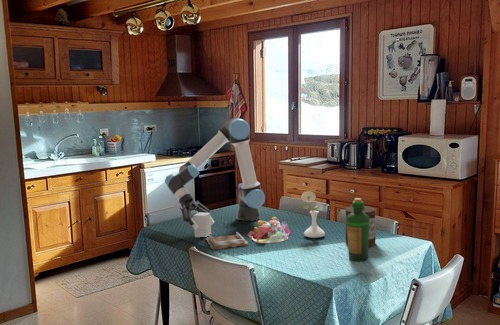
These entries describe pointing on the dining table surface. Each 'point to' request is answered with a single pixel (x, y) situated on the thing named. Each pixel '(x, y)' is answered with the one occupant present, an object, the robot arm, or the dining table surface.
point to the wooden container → (371, 215)
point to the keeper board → (226, 241)
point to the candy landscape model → (269, 232)
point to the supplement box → (202, 224)
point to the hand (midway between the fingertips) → (205, 226)
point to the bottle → (358, 232)
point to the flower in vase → (313, 229)
